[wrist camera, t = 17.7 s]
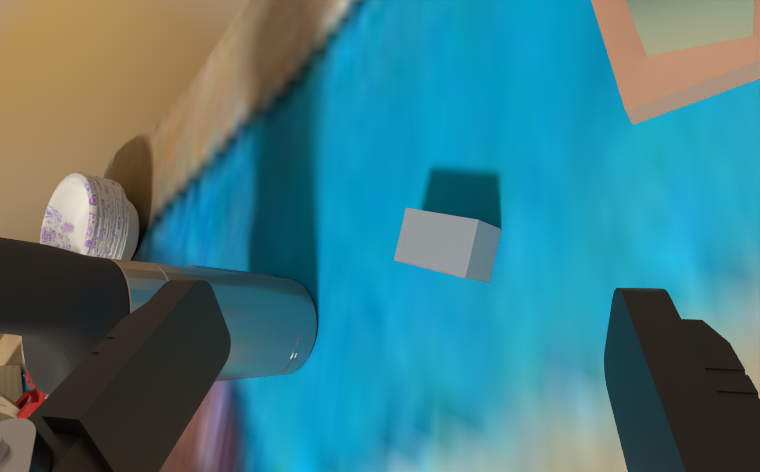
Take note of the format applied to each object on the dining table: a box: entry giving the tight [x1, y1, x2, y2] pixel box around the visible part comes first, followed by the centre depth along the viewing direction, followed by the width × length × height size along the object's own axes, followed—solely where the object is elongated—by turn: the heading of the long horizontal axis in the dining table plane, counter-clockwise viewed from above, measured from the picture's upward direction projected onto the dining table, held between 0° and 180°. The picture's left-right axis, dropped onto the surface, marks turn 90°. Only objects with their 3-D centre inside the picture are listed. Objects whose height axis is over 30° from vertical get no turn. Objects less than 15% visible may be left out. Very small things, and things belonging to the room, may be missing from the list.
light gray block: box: [394, 208, 501, 283], centre depth 36 cm, size 6×4×4 cm, turn 73°
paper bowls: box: [40, 172, 140, 261], centre depth 66 cm, size 15×15×8 cm
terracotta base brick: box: [591, 0, 760, 125], centre depth 29 cm, size 10×10×3 cm
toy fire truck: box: [0, 370, 49, 419], centre depth 71 cm, size 3×14×10 cm, turn 149°
